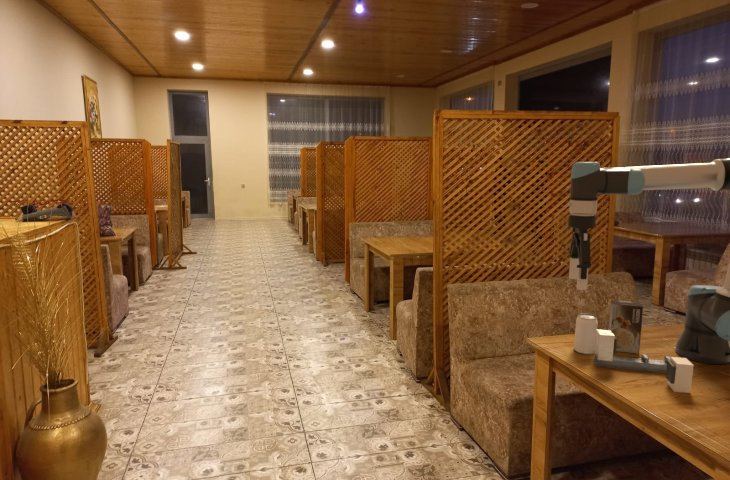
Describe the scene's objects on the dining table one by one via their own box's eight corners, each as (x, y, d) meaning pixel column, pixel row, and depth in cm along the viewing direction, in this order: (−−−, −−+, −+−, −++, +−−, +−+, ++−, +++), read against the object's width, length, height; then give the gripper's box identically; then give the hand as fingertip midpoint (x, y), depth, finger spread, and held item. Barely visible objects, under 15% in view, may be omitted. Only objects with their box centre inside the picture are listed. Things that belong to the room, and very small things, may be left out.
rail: (666, 367, 154) (669, 334, 152) (672, 374, 149) (676, 340, 147) (593, 361, 158) (596, 329, 156) (597, 367, 153) (600, 334, 152)
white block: (682, 384, 142) (686, 358, 141) (690, 392, 137) (693, 365, 136) (664, 383, 143) (667, 356, 142) (670, 391, 138) (674, 363, 137)
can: (597, 355, 163) (600, 319, 161) (576, 353, 164) (578, 318, 162) (592, 348, 169) (595, 313, 167) (572, 346, 170) (574, 312, 168)
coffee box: (636, 347, 170) (641, 301, 167) (639, 354, 164) (644, 306, 161) (606, 343, 173) (610, 298, 171) (608, 350, 167) (612, 303, 165)
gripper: (562, 209, 162) (558, 274, 166) (576, 219, 138) (571, 293, 142) (587, 210, 161) (582, 275, 164) (606, 219, 137) (600, 295, 140)
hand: (577, 284), depth 153 cm, fingers open, 13 cm apart
